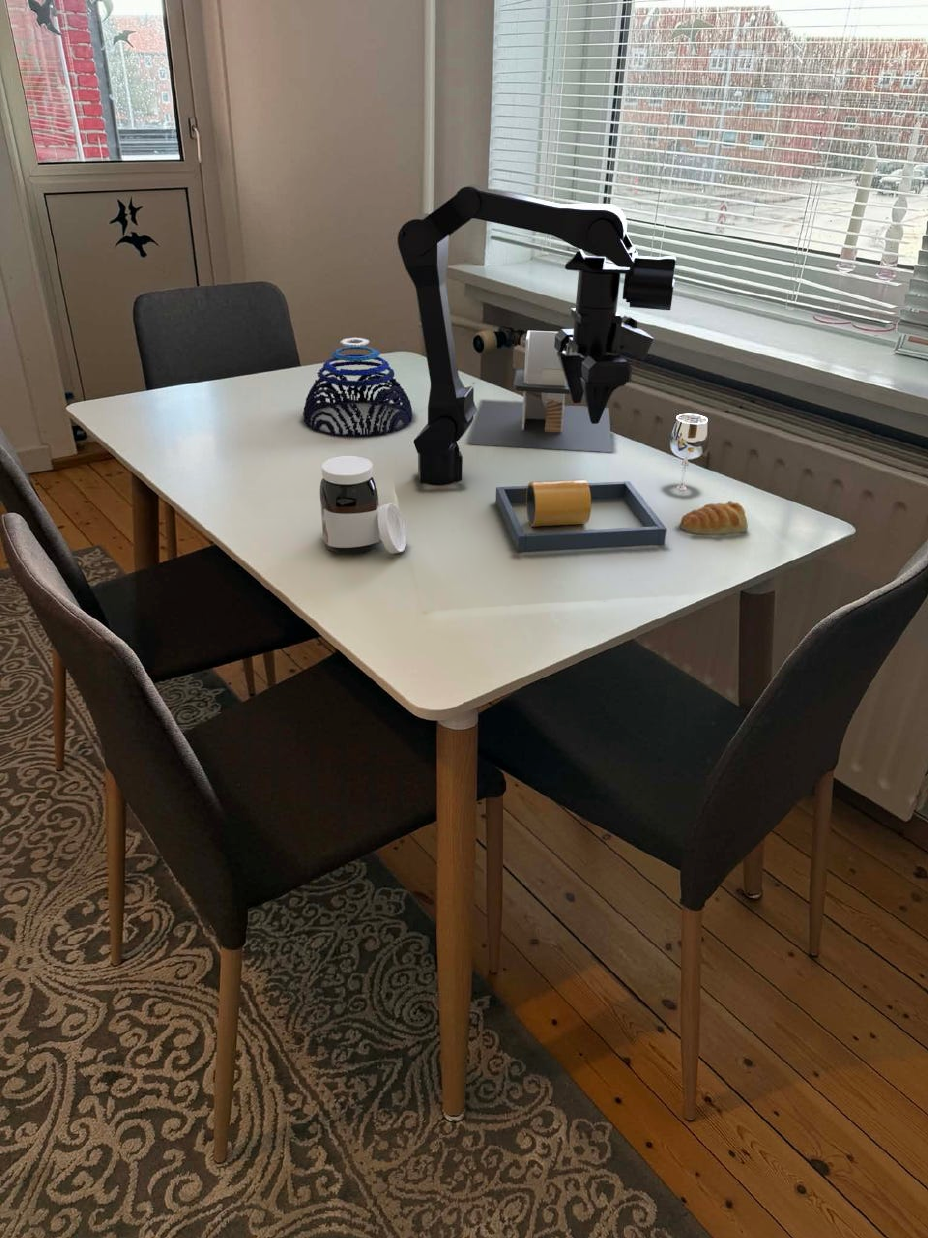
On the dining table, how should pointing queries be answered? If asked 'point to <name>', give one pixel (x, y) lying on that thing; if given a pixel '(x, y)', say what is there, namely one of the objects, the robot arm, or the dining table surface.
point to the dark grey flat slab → (541, 408)
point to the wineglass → (689, 439)
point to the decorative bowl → (362, 382)
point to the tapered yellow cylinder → (558, 502)
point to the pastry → (716, 519)
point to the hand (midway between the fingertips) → (585, 412)
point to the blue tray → (584, 538)
